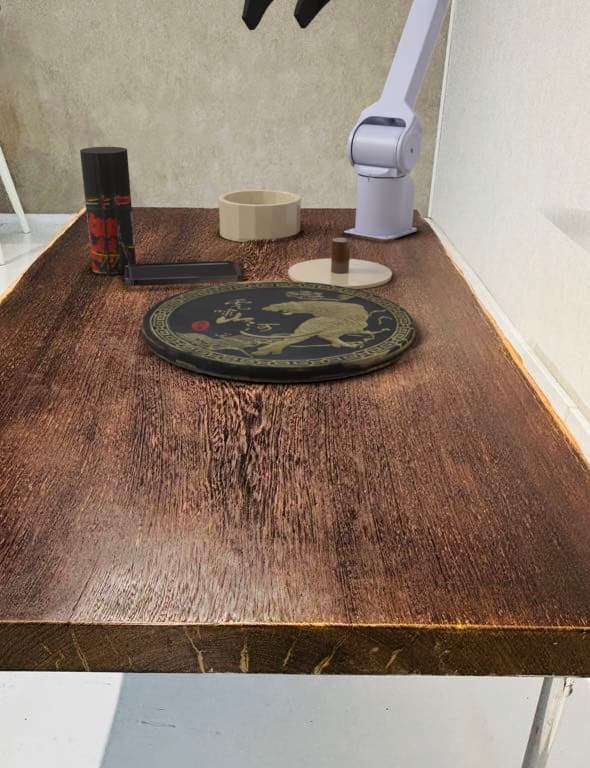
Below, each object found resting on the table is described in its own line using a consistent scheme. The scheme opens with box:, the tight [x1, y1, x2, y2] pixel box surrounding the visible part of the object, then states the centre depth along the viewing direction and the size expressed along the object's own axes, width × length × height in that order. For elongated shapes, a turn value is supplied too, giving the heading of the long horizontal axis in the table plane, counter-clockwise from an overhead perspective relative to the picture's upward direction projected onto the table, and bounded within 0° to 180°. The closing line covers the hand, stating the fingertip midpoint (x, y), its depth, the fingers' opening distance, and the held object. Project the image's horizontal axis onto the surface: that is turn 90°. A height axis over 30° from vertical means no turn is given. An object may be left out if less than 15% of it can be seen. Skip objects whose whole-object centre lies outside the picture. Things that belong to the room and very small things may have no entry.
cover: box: [287, 237, 393, 290], centre depth 112 cm, size 14×14×5 cm
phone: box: [124, 260, 243, 287], centre depth 113 cm, size 8×1×15 cm
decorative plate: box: [141, 280, 416, 384], centre depth 94 cm, size 30×2×30 cm
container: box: [217, 189, 302, 243], centre depth 134 cm, size 13×13×5 cm
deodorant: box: [79, 146, 137, 276], centre depth 113 cm, size 6×6×15 cm
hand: (273, 22), depth 100 cm, fingers open, 7 cm apart
